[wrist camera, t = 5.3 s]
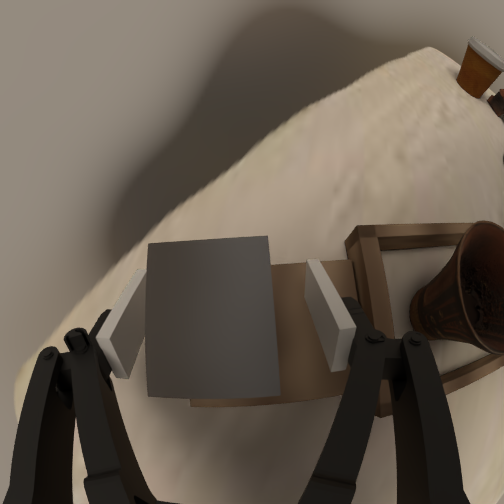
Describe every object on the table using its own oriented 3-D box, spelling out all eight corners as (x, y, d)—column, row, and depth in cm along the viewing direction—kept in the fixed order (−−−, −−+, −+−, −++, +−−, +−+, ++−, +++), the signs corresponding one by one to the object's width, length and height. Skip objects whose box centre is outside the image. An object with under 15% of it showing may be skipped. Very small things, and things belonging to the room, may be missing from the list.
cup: (368, 267, 21) (455, 214, 11) (438, 258, 22) (513, 216, 13) (386, 374, 18) (486, 377, 9) (454, 345, 20) (538, 330, 10)
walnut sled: (473, 234, 22) (545, 176, 11) (495, 360, 18) (584, 343, 6) (189, 250, 22) (134, 148, 10) (196, 428, 17) (132, 504, 5)
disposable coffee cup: (449, 82, 34) (470, 39, 23) (451, 69, 37) (469, 32, 26) (486, 110, 32) (511, 71, 21) (484, 94, 35) (505, 59, 24)
